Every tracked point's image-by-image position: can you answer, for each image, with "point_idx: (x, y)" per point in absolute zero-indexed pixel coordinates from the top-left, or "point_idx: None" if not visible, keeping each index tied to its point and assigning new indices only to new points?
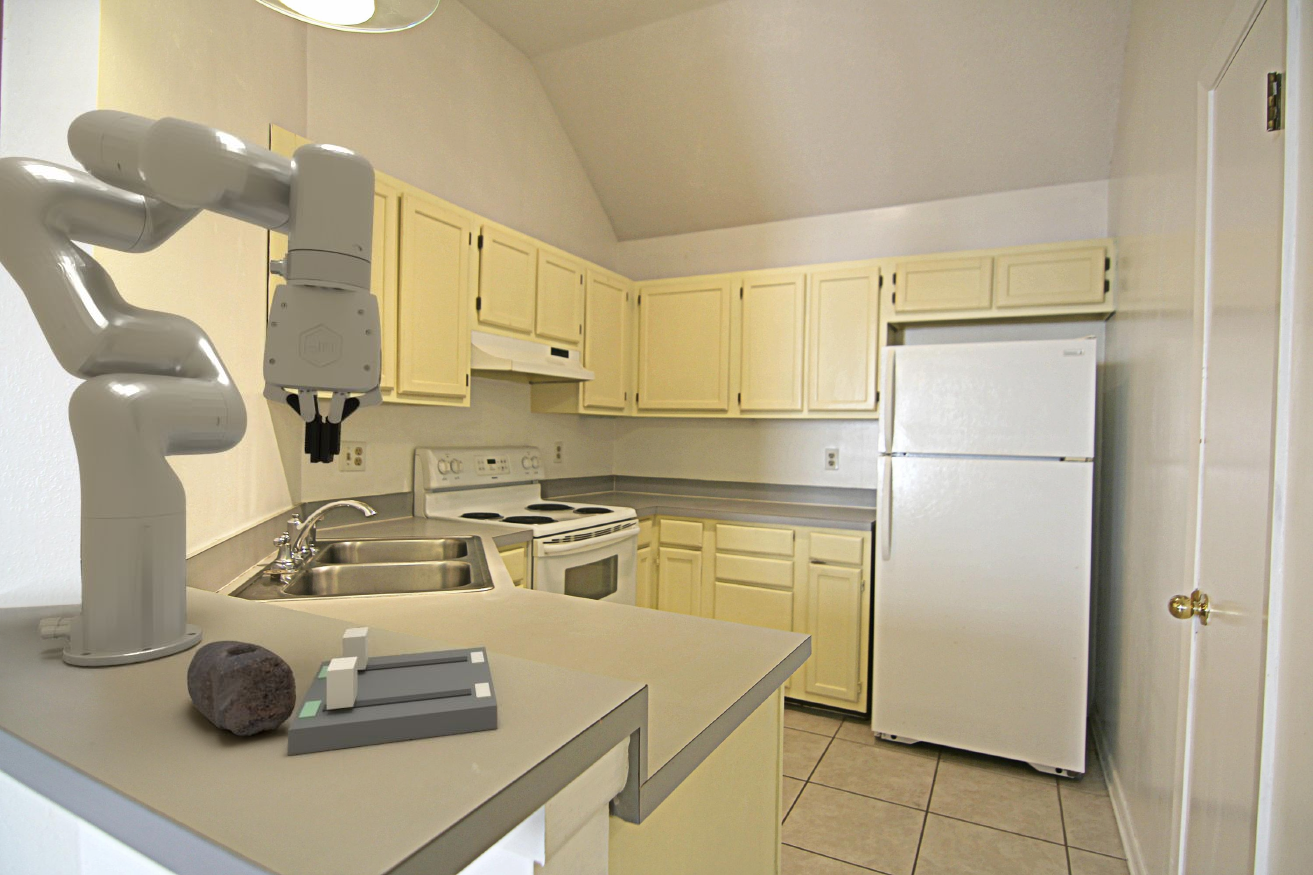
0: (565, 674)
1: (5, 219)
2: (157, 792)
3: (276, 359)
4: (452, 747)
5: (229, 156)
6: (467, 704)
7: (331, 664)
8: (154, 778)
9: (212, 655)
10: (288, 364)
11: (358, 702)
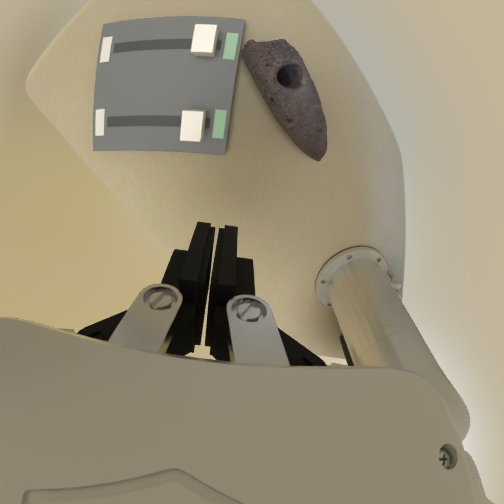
0: (52, 114)
1: None
2: (314, 14)
3: (440, 471)
4: (141, 7)
5: None
6: (120, 28)
7: (212, 38)
8: (319, 32)
9: (312, 90)
10: (389, 468)
11: None
